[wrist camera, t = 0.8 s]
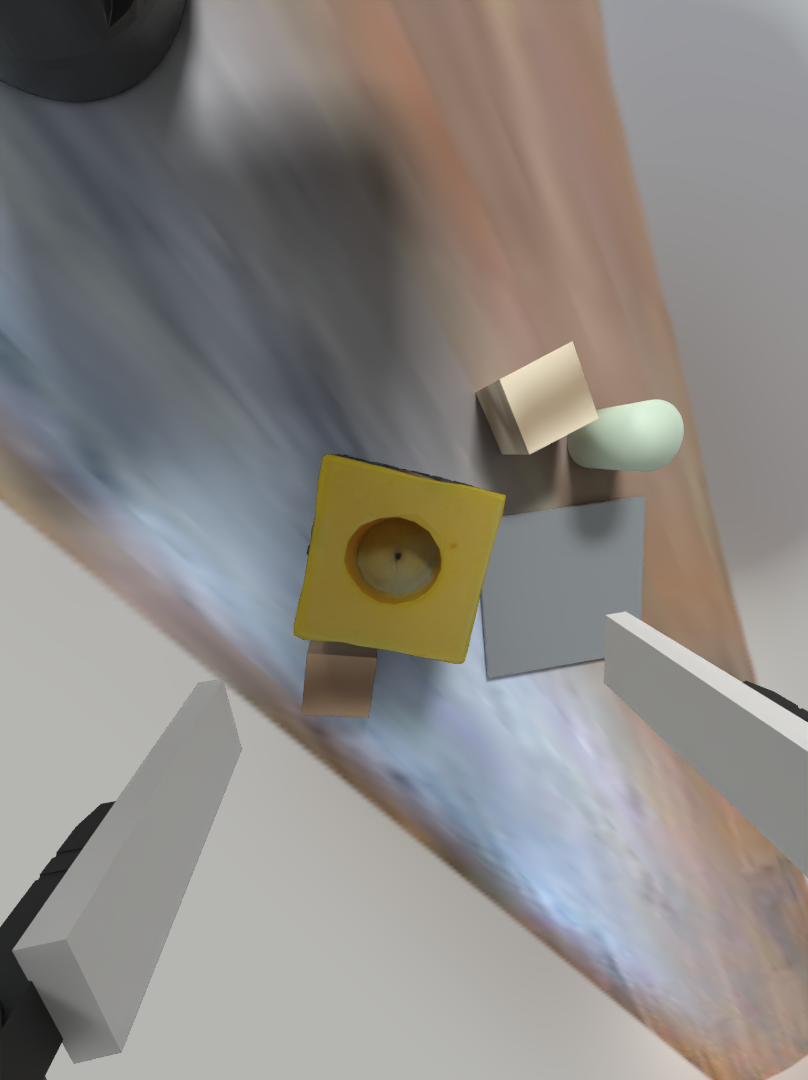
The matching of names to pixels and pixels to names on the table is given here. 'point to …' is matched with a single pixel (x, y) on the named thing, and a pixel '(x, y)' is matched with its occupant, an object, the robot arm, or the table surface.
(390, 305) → the table surface
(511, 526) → the coaster
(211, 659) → the table surface
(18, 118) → the table surface
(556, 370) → the maple block
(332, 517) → the candle
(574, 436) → the sage capsule
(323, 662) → the walnut block
